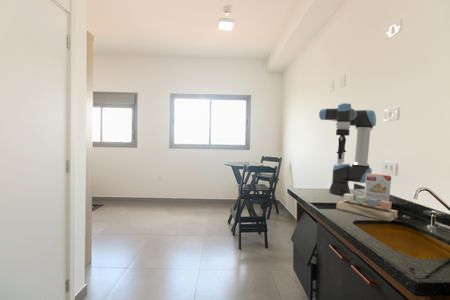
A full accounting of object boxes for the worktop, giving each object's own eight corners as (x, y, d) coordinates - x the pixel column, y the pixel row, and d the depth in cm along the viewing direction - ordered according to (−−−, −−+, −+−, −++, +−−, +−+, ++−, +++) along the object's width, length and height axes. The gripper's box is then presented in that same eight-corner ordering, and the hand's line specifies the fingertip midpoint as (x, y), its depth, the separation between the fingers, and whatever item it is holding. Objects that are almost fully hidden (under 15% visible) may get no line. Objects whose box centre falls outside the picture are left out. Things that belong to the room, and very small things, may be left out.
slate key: (369, 207, 165) (370, 197, 165) (377, 209, 162) (378, 199, 161) (366, 209, 162) (367, 198, 162) (374, 210, 159) (375, 200, 158)
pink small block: (382, 210, 160) (383, 200, 159) (390, 212, 157) (391, 202, 156) (379, 211, 157) (380, 201, 156) (388, 213, 154) (388, 203, 153)
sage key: (357, 205, 170) (358, 195, 170) (365, 206, 167) (365, 197, 166) (354, 206, 167) (355, 196, 167) (362, 207, 164) (362, 198, 164)
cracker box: (364, 206, 181) (366, 174, 179) (363, 203, 186) (365, 173, 185) (388, 209, 176) (391, 176, 174) (387, 206, 181) (389, 175, 180)
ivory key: (346, 202, 175) (346, 193, 175) (353, 204, 172) (353, 194, 172) (343, 203, 172) (343, 194, 172) (350, 205, 169) (350, 195, 169)
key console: (345, 205, 180) (345, 199, 180) (397, 217, 158) (397, 210, 157) (336, 208, 172) (336, 202, 172) (389, 221, 150) (390, 214, 149)
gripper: (338, 129, 183) (336, 161, 184) (334, 128, 161) (331, 164, 162) (350, 129, 179) (348, 161, 181) (348, 128, 157) (345, 165, 159)
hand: (340, 163), depth 172 cm, fingers open, 13 cm apart
